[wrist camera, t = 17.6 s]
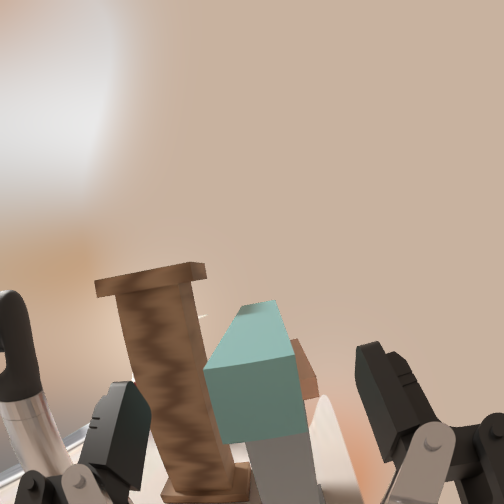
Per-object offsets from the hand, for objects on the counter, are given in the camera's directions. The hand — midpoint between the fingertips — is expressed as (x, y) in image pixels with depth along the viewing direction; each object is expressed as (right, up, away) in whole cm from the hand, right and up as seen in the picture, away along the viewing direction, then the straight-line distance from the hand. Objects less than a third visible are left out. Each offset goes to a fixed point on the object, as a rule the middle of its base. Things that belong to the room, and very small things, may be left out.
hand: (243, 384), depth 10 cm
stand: (-6, -29, +24) cm, 38 cm away
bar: (+1, -5, +14) cm, 15 cm away
